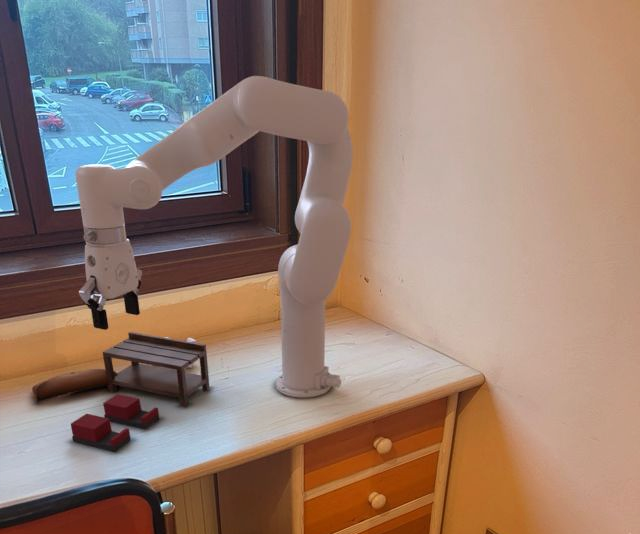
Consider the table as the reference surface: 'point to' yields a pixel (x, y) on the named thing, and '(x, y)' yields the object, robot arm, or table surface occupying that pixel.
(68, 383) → the sunglasses case
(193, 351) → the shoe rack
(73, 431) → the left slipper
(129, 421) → the right slipper
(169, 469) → the table surface
